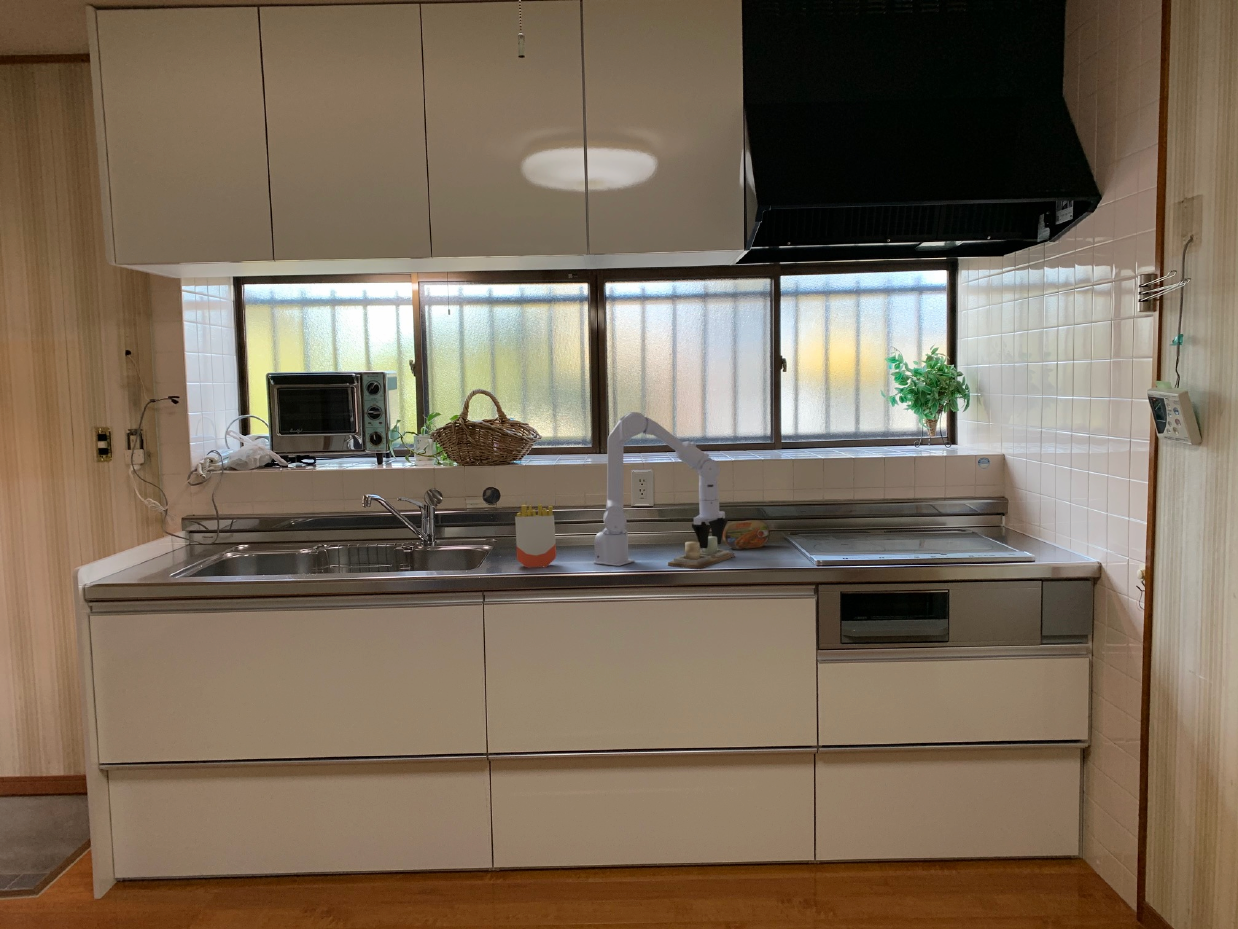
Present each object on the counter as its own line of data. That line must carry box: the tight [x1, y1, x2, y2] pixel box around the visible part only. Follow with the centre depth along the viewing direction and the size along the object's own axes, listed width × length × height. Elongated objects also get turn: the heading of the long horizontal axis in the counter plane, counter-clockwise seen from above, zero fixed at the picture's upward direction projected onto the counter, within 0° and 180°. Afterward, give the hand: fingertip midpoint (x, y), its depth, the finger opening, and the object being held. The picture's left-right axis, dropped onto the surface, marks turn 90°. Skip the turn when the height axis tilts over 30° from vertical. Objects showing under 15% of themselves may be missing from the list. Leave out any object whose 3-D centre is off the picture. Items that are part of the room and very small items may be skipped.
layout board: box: [667, 548, 735, 570], centre depth 239 cm, size 10×20×2 cm, turn 143°
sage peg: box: [703, 535, 718, 554], centre depth 242 cm, size 4×4×5 cm
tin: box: [722, 519, 771, 550], centre depth 258 cm, size 15×3×8 cm, turn 105°
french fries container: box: [514, 504, 557, 568], centre depth 240 cm, size 5×11×18 cm, turn 90°
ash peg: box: [684, 541, 701, 560], centre depth 234 cm, size 4×4×5 cm
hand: (710, 545), depth 242 cm, fingers open, 7 cm apart
